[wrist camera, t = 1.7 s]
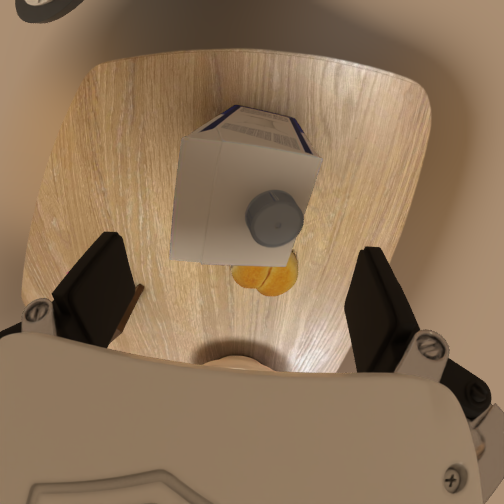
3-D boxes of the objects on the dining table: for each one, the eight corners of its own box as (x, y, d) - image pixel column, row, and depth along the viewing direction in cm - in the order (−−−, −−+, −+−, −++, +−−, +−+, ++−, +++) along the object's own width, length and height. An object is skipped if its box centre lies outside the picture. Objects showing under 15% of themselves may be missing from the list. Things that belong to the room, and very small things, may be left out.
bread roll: (280, 293, 43) (280, 312, 39) (225, 270, 41) (221, 289, 38) (310, 253, 38) (313, 271, 35) (250, 225, 37) (248, 242, 33)
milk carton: (235, 103, 28) (180, 135, 11) (295, 117, 28) (330, 170, 12) (223, 161, 32) (168, 263, 15) (279, 174, 32) (286, 289, 16)
